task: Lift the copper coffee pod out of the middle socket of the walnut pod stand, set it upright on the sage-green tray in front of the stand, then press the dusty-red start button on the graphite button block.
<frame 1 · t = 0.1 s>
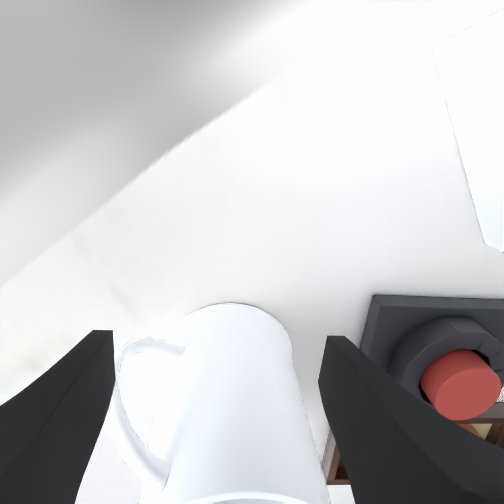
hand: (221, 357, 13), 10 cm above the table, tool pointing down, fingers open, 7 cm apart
pod stand: (447, 435, 30), on the table
button block: (428, 346, 27), on the table
mug: (212, 340, 25), on the table
start button: (459, 384, 23), point 4 cm above the table, slide at 0.1 cm
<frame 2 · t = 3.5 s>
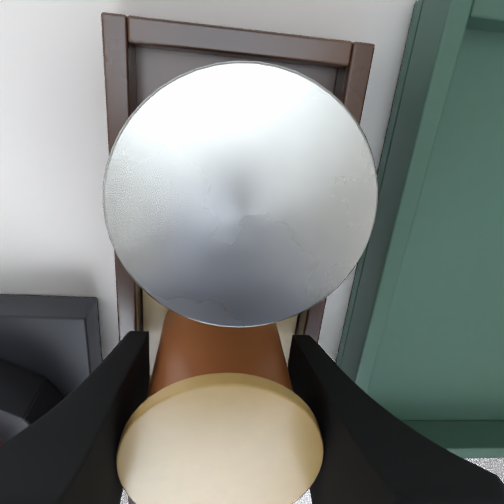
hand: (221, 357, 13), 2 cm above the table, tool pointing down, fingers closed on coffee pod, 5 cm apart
pod stand: (220, 323, 15), on the table
coffee pod: (220, 332, 14), point 1 cm above the table, touching gripper, pod stand
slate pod: (232, 160, 12), resting on pod stand
button block: (2, 401, 15), on the table
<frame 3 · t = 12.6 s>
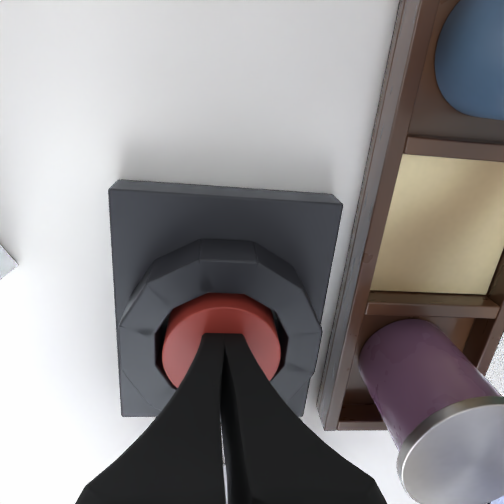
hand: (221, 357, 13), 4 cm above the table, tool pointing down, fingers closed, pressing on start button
pod stand: (436, 224, 16), on the table
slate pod: (495, 50, 13), resting on pod stand
mauve pod: (402, 356, 18), resting on pod stand
button block: (220, 302, 16), on the table
start button: (221, 342, 14), point 3 cm above the table, slide at -0.9 cm, touching gripper
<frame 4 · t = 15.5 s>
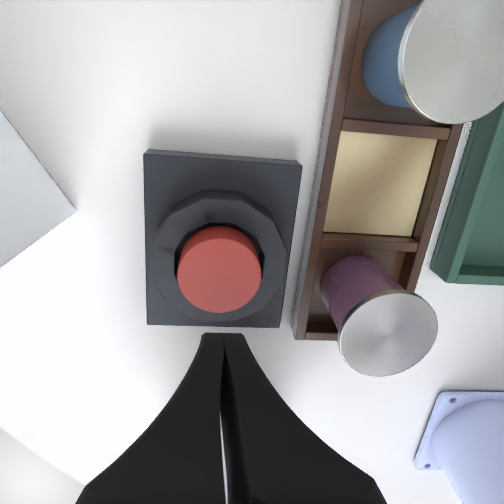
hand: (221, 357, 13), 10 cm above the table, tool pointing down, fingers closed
pod stand: (372, 184, 22), on the table
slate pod: (402, 61, 19), resting on pod stand
mauve pod: (353, 285, 24), resting on pod stand
button block: (219, 241, 22), on the table
start button: (219, 269, 19), point 4 cm above the table, slide at 0.1 cm
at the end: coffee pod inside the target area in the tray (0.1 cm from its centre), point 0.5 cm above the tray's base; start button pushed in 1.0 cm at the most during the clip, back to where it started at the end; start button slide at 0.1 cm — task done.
